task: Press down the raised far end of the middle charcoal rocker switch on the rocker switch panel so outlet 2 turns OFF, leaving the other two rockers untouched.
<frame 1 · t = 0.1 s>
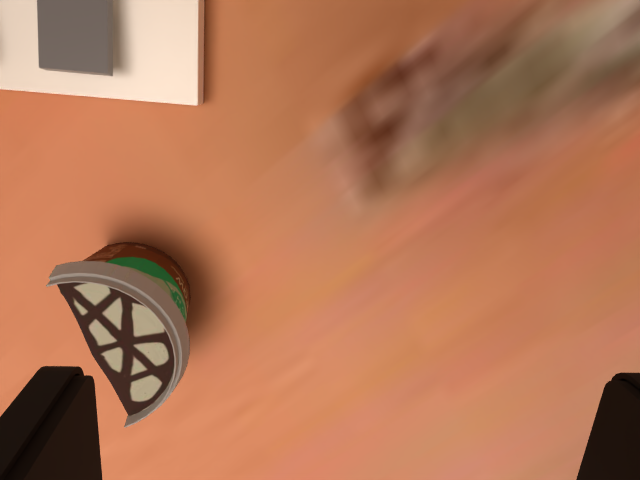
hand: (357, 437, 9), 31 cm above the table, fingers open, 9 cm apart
food container: (165, 283, 41), on the table
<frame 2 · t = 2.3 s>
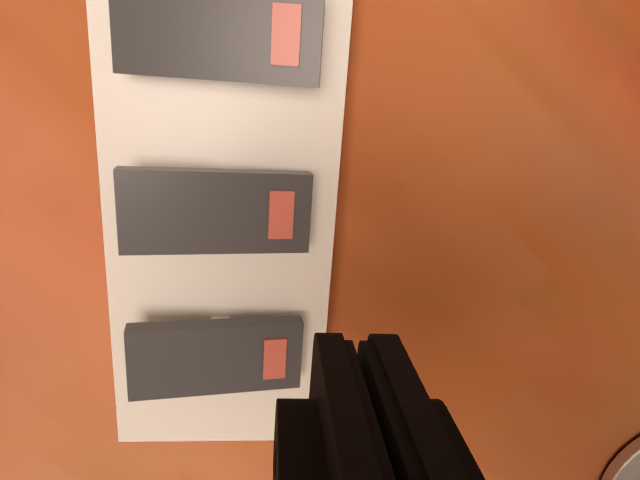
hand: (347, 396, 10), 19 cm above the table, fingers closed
rocker 2: (217, 212, 23), point 5 cm above the table, hinge at -8.0°
rocker switch panel: (226, 190, 28), on the table
rocker 3: (217, 357, 25), point 5 cm above the table, hinge at -8.0°
rocker 1: (217, 31, 21), point 5 cm above the table, hinge at 8.0°
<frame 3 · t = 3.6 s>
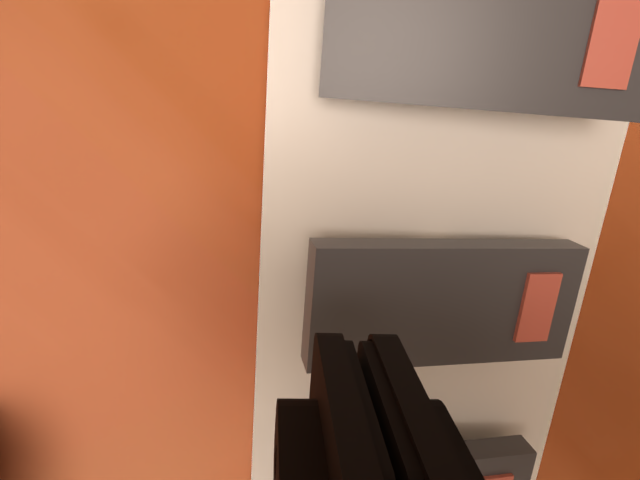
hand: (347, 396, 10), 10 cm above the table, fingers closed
rocker 2: (446, 303, 15), point 5 cm above the table, hinge at -8.0°
rocker switch panel: (407, 253, 20), on the table
rocker 1: (490, 33, 13), point 5 cm above the table, hinge at 8.0°
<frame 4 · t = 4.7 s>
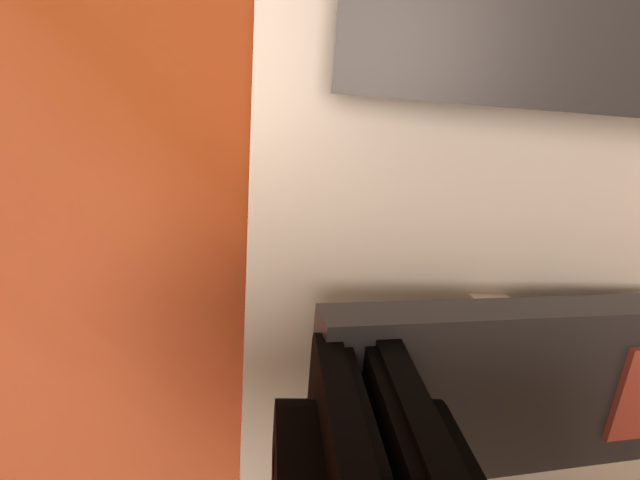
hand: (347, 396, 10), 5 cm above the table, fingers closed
rocker 2: (511, 390, 11), point 5 cm above the table, hinge at -7.9°, touching gripper
rocker switch panel: (439, 297, 15), on the table
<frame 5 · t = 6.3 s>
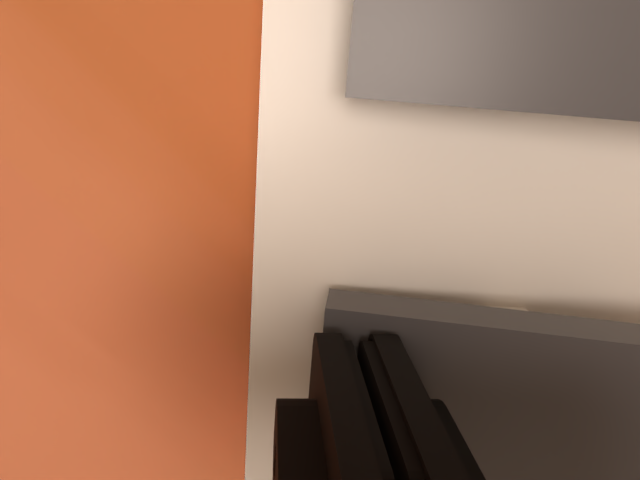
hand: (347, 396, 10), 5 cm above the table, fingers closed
rocker 2: (530, 410, 10), point 5 cm above the table, hinge at 11.0°, touching gripper
rocker switch panel: (451, 308, 15), on the table
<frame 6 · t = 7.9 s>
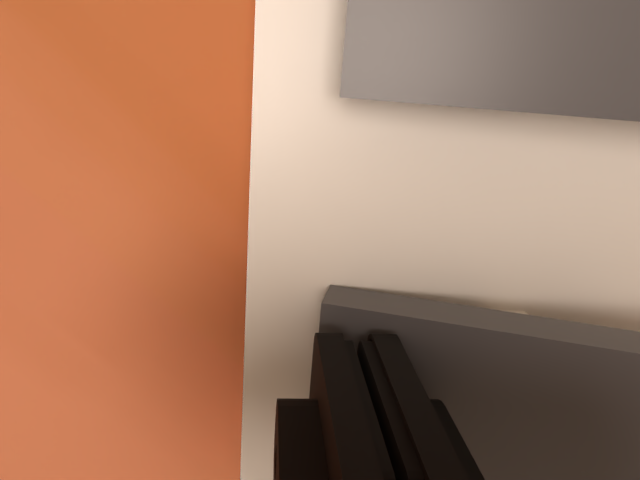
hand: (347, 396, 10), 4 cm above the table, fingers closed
rocker 2: (530, 416, 10), point 5 cm above the table, hinge at 16.8°, touching gripper
rocker switch panel: (449, 310, 14), on the table
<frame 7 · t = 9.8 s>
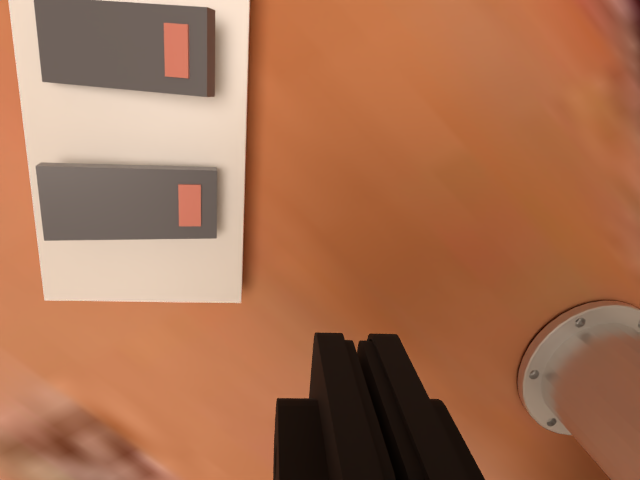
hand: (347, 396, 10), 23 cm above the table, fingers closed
rocker 2: (124, 47, 24), point 5 cm above the table, hinge at 17.6°, touching rocker switch panel
rocker switch panel: (146, 51, 28), on the table
rocker 3: (133, 202, 26), point 5 cm above the table, hinge at -8.0°
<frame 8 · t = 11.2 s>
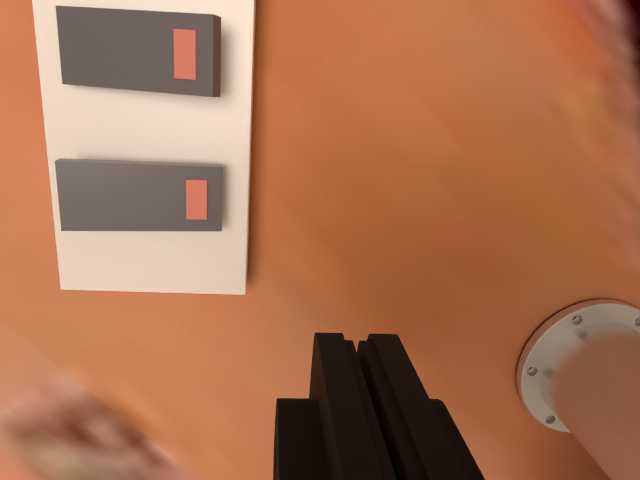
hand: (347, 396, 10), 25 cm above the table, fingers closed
rocker 2: (138, 51, 26), point 5 cm above the table, hinge at 17.5°, touching rocker switch panel
rocker switch panel: (158, 56, 30), on the table
rocker 3: (144, 196, 28), point 5 cm above the table, hinge at -8.0°
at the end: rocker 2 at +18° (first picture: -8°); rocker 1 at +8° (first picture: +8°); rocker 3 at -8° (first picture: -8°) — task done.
